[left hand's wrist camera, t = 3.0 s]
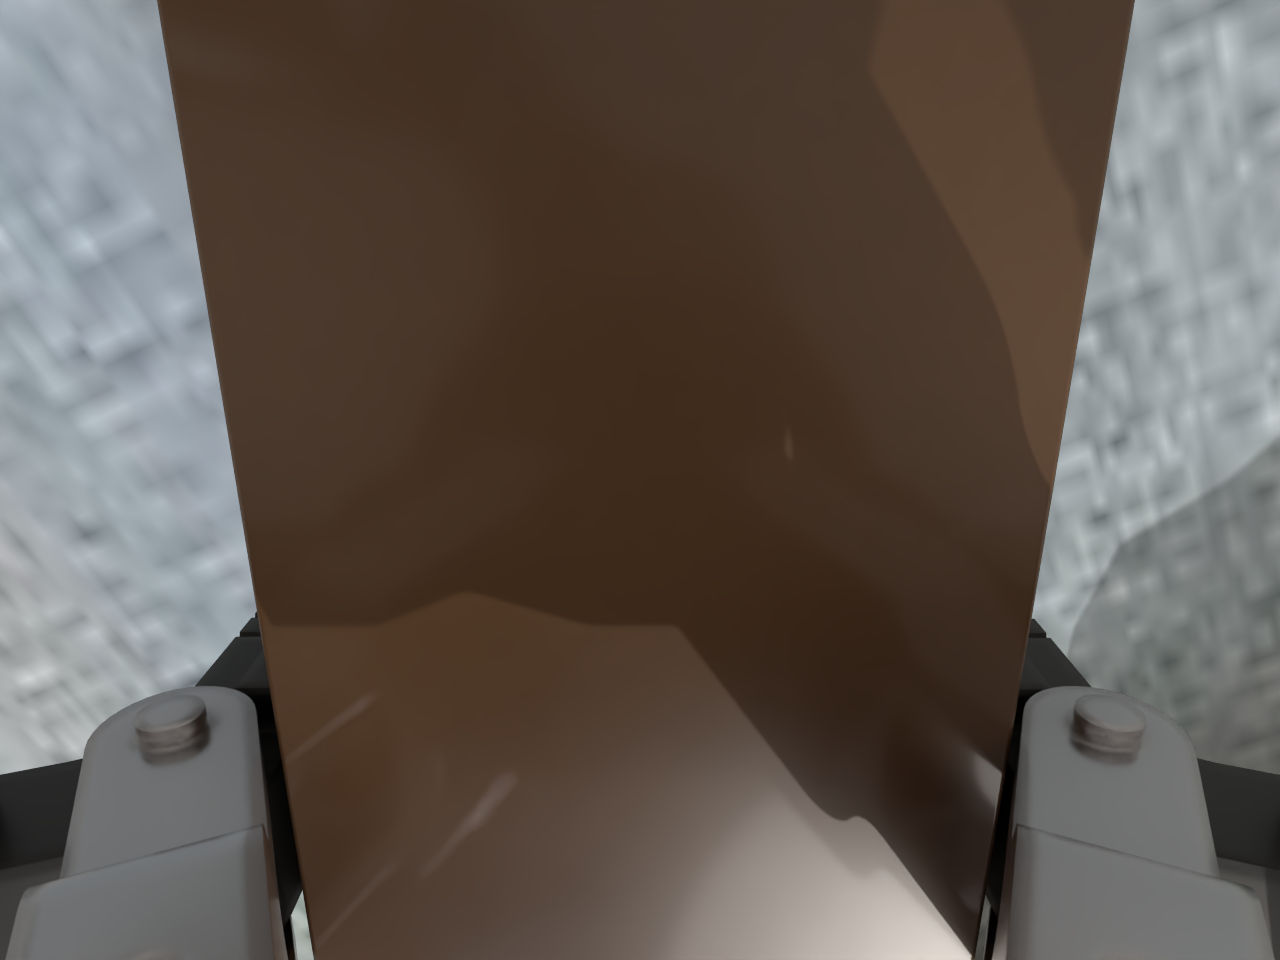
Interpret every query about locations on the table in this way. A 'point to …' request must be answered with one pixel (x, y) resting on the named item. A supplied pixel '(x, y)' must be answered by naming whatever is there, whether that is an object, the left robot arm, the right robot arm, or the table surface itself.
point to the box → (645, 448)
